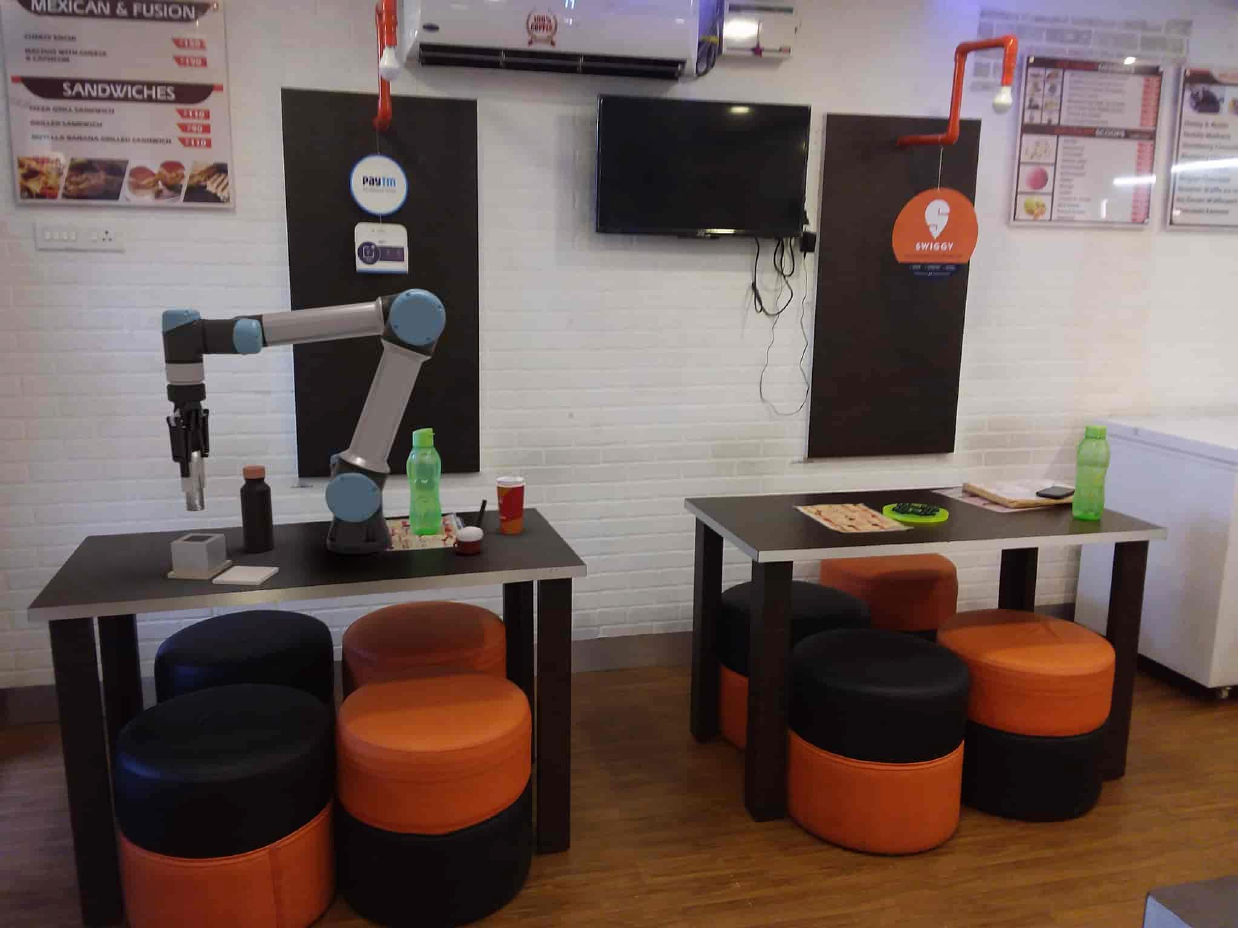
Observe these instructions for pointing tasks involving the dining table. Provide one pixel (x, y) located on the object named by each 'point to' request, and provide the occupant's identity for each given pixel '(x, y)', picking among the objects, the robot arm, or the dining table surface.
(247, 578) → the pad
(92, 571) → the dining table surface
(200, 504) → the metal cylinder
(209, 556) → the grey box
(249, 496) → the bottle
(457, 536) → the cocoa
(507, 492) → the paper cup
